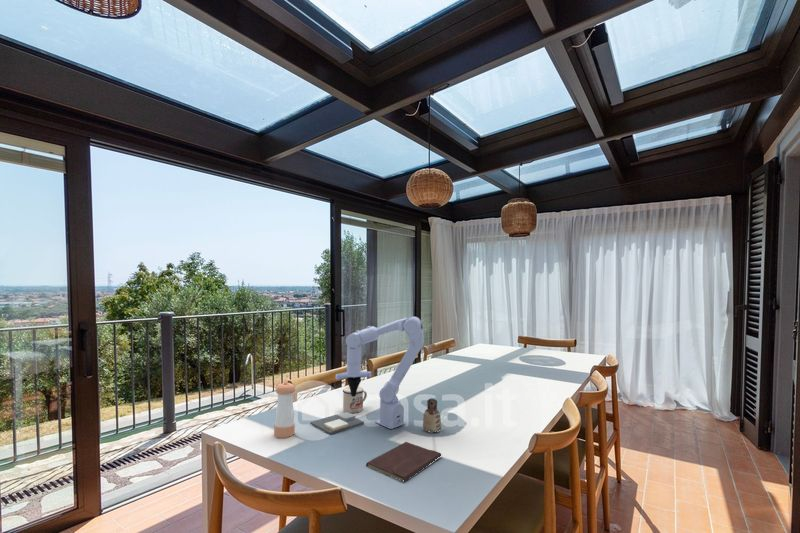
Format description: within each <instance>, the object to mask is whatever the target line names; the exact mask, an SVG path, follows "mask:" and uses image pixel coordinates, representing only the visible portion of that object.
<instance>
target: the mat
mask: <svg viewBox="0 0 800 533" xmlns="http://www.w3.org/2000/svg"><path fill="white" fill-rule="evenodd" d="M341 413H342V412H341ZM341 413H339V414H341ZM334 420H338V418H337V414H334V415H330V416H327V417H324V418H320V419H316V420H313V421H310V422H309V424H310V425H311V424H312V425H311V426H312V427H315V428H316V427H317V429H318V430H320V431H322V432H324V433H326V434H328V435H330V436H331V435H333V434H336V433H340V432H343V431H346V430H349V429H352V428H355V427H359V426H361V425H364V424H365V421H362V420H361V419H358V418H357V417H355V419H353V420H349V421H346V422H347V423H348V427H345V428H342V429H339V430H336V431H331V430H330V429H328V428H326V427H324V423H328V422H331V421H334ZM340 420H341V419H340ZM342 421H343V420H342Z"/></svg>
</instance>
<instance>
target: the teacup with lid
mask: <svg viewBox="0 0 800 533" xmlns="http://www.w3.org/2000/svg"><path fill="white" fill-rule="evenodd" d="M342 392H343V393H342V394H343V396H342V410H343V411H344V412H348V413H350V414H354V413H355V414H356V413H360V412H362V411H363V408H364V403H363V402H365V401H366V399H367V396H368V393H367V391H366V390H364V388H363V387H362V386H360V385H359V386H358V388H357V392H356V396H354V397H352V396H351V391H350V387H349V385H348V386H346V387H344V388H343V389H342Z"/></svg>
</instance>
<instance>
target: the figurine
mask: <svg viewBox="0 0 800 533" xmlns="http://www.w3.org/2000/svg"><path fill="white" fill-rule="evenodd" d="M426 402H427V403H426V407H427V409H425V411H424V412H423V418H422V419H423V420H422V430H423V429H424V430H425V431H424V430H423V431H424V432H426V431H430V432H435V431H439V430H441V431H442V422H441V420H442V419H441V413H440V411H439V410H438V400H437V399H436V398H435V397H430V398H428V399H427V401H426Z"/></svg>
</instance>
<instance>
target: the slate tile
mask: <svg viewBox="0 0 800 533" xmlns="http://www.w3.org/2000/svg"><path fill="white" fill-rule="evenodd" d="M336 415H337V418H338V419H341V420H343V421H345V422H346V421H349V420H353V419H355V418H356V415H354V413H348V412H345V411H344V412H341V414H340V413H337V414H336Z"/></svg>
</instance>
